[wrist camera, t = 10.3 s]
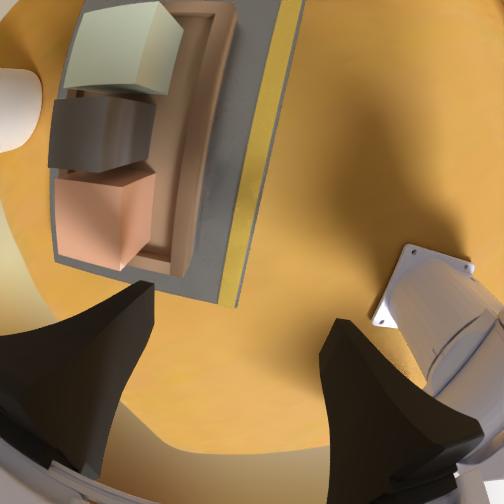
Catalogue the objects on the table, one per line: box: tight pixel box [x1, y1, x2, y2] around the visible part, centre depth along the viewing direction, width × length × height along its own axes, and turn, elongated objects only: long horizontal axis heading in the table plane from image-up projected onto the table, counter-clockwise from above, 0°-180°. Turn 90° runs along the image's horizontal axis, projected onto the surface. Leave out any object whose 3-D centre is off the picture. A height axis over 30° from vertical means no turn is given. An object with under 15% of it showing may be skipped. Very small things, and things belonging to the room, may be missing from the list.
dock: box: [50, 0, 306, 309], centre depth 16 cm, size 16×22×3 cm
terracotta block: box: [55, 168, 156, 271], centre depth 13 cm, size 4×4×4 cm
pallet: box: [48, 1, 238, 278], centre depth 12 cm, size 9×16×7 cm, turn 169°
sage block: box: [63, 1, 184, 95], centre depth 9 cm, size 4×4×4 cm
